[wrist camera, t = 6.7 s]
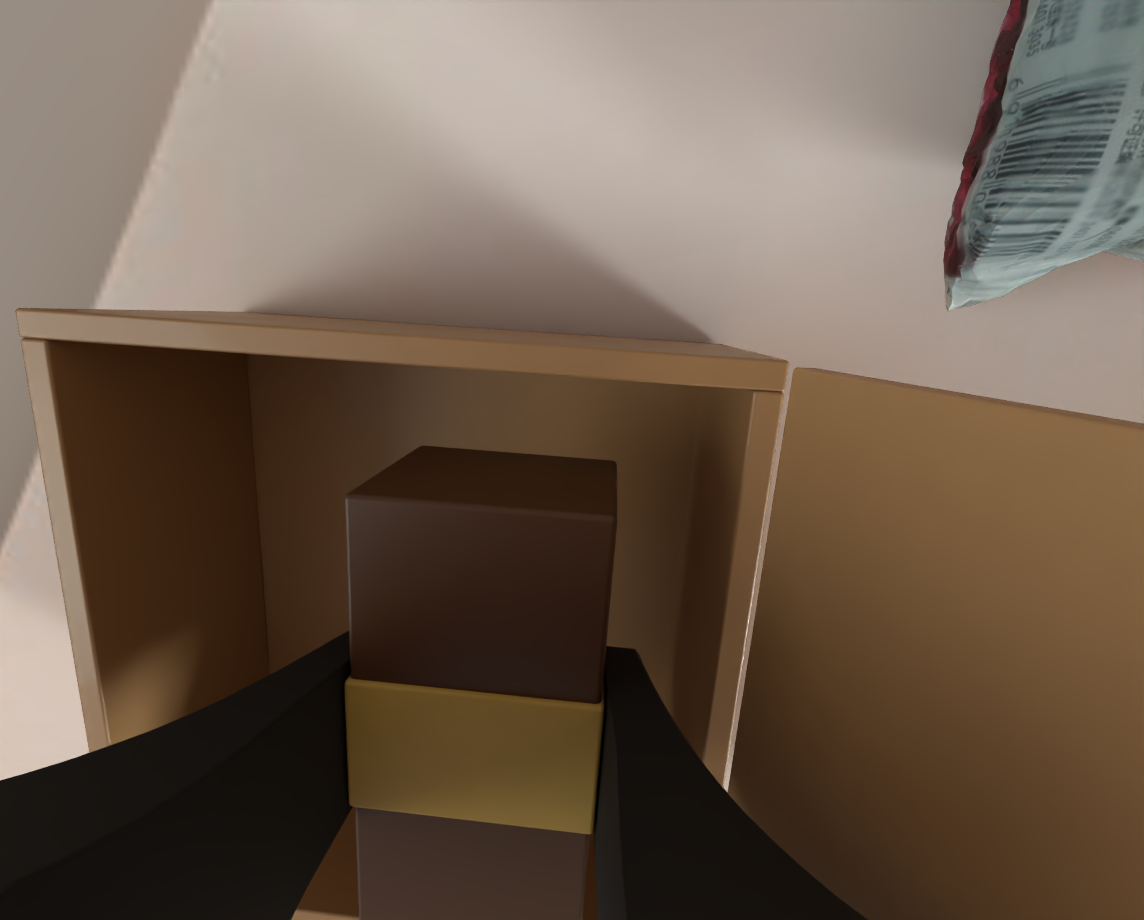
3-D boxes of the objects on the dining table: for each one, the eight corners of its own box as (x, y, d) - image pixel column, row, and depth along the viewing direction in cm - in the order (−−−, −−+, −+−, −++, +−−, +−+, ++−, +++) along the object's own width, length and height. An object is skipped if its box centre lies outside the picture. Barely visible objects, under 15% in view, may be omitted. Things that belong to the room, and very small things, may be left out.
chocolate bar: (589, 811, 13) (581, 977, 10) (418, 791, 14) (352, 948, 10) (620, 459, 11) (621, 519, 8) (417, 444, 12) (334, 495, 8)
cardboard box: (722, 344, 15) (790, 360, 9) (669, 766, 18) (695, 979, 12) (238, 311, 16) (13, 307, 10) (269, 722, 19) (113, 904, 13)
